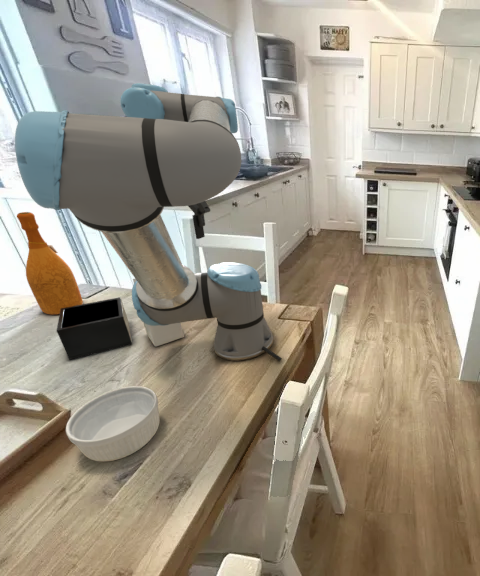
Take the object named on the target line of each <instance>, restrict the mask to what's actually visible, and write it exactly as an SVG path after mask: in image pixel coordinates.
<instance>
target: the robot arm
mask: <svg viewBox="0 0 480 576" xmlns="http://www.w3.org/2000/svg"><path fill="white" fill-rule="evenodd" d="M119 101H120V102H119V103H120V107H121V110H122V112H123V114H124V116H121V115H120V116H117V115H105V114H104V115H101V114H85V113H70V112H69V110H66V109H65V110H61V111H45V110H44V111H41V110H35V111H29V112H27V113H25V114H24V115H22V116H21V118H20V119H19V121H18V122H17V125H16V128H15V133H14V150H15V151H14V152H15V157H16V163H17V167H18V171H19V174H20V178H21V181H22V183H23V185H24V187H25V189H26V192H27V193H28V195H29V196H30V198H31V199H32V200H33V202H35V203H36V204H37V205H38V206H39V207H41V208H44V209H51V210H54V211H60V210H67V209H68V210H69V211H70V213H72V214H73V216H74V217H75V218H76V219H77V220H78V221H79V222H80V223H81V224H82V225H84V226H85V227H87V228H89V229H92V230H94V231H99V232H101V234H102V235H103V236H104V238H105V239H106V240H107V241H108V243H109V244H110V246H111V247H112V249H113V250H114V251H115V252H116V254H117V255H118V257H119V258H120V260H121V261H122V262H123V264H124V265H125V266H126V268H127V269H128V270H129V272H130V273H131V275H132V276H133V277H134V279H136V280H137V281H136V282H135V283H134V282H133V285H132V289H131V301H132V305H133V309H134V310H135V311H136V315H137V317H138V318H139V320H140V321H141V322H142V323H143V324H144V323H145V324H147V325H151V326H157V325H161V326H165V325H169V324H174V323H189V322H193V321H201V320H209V319H216V325H217V326H216V329H215V334H214V339H213V349H214V352H215V354H216V355H217V357H219V358H221V359H223V360H226V361H231V362H232V361H233V362H235V361H237V362H240V361H247V360H252V359H254V358H256V357H260V356H261V355H263V354H265V353H266V354H268V355H269V356H271V357H272V358H274V359H275V360H276V361H278V362H281V360H282V357H281V356H280V355H278V354H277V353H275V352H273V351H272V350H270V348H271V347H272V346H273V344H274V336H273V331H272V329H271V328H270V326H269V323H268V322H267V320H266V318H265V315H264V305H263V298H262V283H261V279H260V274H259V272H258V271H257V269H255V268H254V267H253V266H250V265H248V264H246V263H241V262H228V261H227V262H219V263H214V264H212V265H210V266H209V267H208V269H207V272H196V273H194V271H193V270H192V269H191V268H190V267H188V266H186V265H185V264H183V263H182V261H181V258H180V256H179V254H178V251H177V249H176V247H175V245H174V242H173V240H172V237H171V236H170V233H169V231H168V228H167V227H166V223H165V221H164V219H163V217H162V213H163V211H164V208H173V207H174V208H175V207H177V208H178V207H188V208H189V209H190V211H192V213H194V214H192V222H193V228H194V233H195V239H196V240H200V239H202V238H205V237H206V236H205V229H204V227H205V226H206V219H205V214H207V213H210V212H211V208H210V207H209V205H208V203H207V201H208V200H210V199H212V198H214V197H216V196H218V195H219V194H221V193H223V192H224V191H225V190H226V189H228V187H229V186H231V185H232V184H233V182H234V181H235V180H236V178H237V177H238V175H239V173H240V170H241V167H242V162H243V160H242V151H241V147H240V144H239V142H238V140H237V138H236V136H234V134H236V133H238V131H239V126H238V116H237V108H236V103H235V101H234V100H233V99H231V98H227V97H226V98H225V97H222V96H209V95H198V94H197V95H196V94H188V93H187V94H185V93H178V92H169V91H168V90H167V89H166V87H163V86H159V85H155V84H150V83H141V82H140V83H139V82H136V83H133V84H131V87H128V88H127V89H125V90H124V91H123V92H122V93H121V97H120V100H119Z"/></svg>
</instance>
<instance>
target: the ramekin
mask: <svg viewBox="0 0 480 576" xmlns="http://www.w3.org/2000/svg"><path fill="white" fill-rule="evenodd" d="M159 426H160V412H159V398H158V396H157V394H156V392H155V391H154V390H153V389H152V388H149V387H147V386H143V385H128V386H123V387H119V388H115V389H111V390H108V391H106V392H104V393H102V394H100V395H97V396H95V397H93V398H92V399H90V400H88V401H86V403H84V404H83V405H81V406H80V407H79V408H78V409H76V411H75V412H74V413H73V414H72V415H71V416H70V417H69V419H68V420H67V423H66V425H65V434H66V437H67V439H68V440H69V441H70V442H71V443H72V444H73V445H75V446H76V448H78V450H79V451H80V453H82V454H83V455H84V456H85V457H86V458H88V459H89V460H91V461H94V462H113V461H118V460H121V459H123V458H124V459H125V458H126V457H128V456H130V455H133V454H135V453H136V452H138V451H139V450H140V449H142V448H144V447H145V446H146V445H147V444H148V443H149V442H150V441H151V440H152V438H153V437H154V436H155V434H156V433H157V431H158V429H159Z"/></svg>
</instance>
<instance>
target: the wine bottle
mask: <svg viewBox="0 0 480 576" xmlns="http://www.w3.org/2000/svg"><path fill="white" fill-rule="evenodd" d="M16 218H17V220H18V222H19V223H20V227H21V229H22V230H23V231H25V235H26V238H27V246H28V253H27V257H26V258H27V259H26V264H25V278H26V281H27V283H28V286H29V288H30V290H31V292H32V295H33V297H34V299H35V301H36V302H37V305H38V306H39V308H40V310H41V312H43V313H44V314H46V315H60V310H61V308H65V307H71V306H76V305H81V304H84V302H83V301H84V300H83V297H82V295H81V291H80V289H79V285H78V283H77V280H76V277H75V275H74V273H73V270H72V269H71V267H70V266H69V265H68V264H67V263H66V262H65V260H64V259H63V258H61V256H59V255H58V253H59V252H58V251H57V250H56V248H55V247H54V246H53V245H52V244H48V243H47V242H46V241H45V239H44V238H43V237H42V235H41V233H40V231H39V228H40V226H39V224H38V223H37V220H36V217H35V214H34V213H33V212H30V211H22V212H18V213H17V214H16Z"/></svg>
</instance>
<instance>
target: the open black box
mask: <svg viewBox="0 0 480 576" xmlns="http://www.w3.org/2000/svg"><path fill="white" fill-rule="evenodd" d="M56 333H57V336H58V337H59V340H60V342H61V344H62V347H63V349H64V351H65V353H66V356H67V358H68V360H69V361H73V360H76V359H80V358H84V357H88V356H92V355H95V354H100V353H103V352H108V351H111V350H115V349H119V348H124V347H127V346H132V345H133V341H132V334H131V327H130V321H129V318H128V316H127V313H126V309H125V306H124V303H123V300H122V297H121V296H120V297H114V298H109V299H103V300H98V301H97V300H96V301H93V302H88V303H82V304H81V305H76V306H71V307H65V308H61V310H60V314H58V321H57V326H56Z"/></svg>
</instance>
